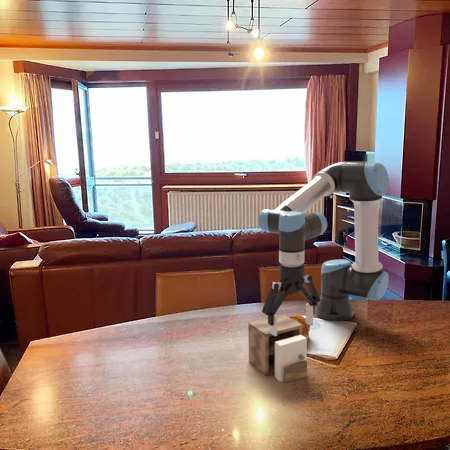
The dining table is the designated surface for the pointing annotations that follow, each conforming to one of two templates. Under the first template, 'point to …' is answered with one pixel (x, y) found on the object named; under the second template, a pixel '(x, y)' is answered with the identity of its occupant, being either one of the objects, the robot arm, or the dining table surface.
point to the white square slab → (289, 353)
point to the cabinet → (273, 346)
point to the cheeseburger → (302, 321)
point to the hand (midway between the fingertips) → (291, 329)
